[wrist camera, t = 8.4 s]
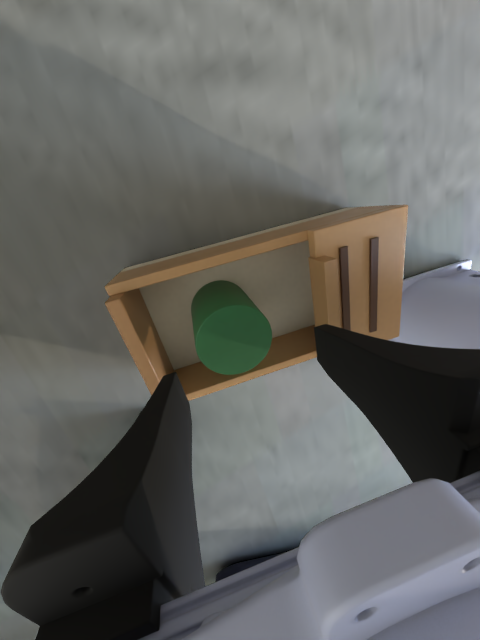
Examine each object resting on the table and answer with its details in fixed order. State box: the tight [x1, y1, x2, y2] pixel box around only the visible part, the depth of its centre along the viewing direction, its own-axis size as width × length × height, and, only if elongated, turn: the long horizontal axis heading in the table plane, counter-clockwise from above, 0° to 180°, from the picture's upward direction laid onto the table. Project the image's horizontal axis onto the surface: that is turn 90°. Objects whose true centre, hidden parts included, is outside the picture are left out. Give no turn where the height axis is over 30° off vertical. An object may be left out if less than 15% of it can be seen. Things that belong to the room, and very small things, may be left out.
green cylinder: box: [191, 280, 272, 375], centre depth 16 cm, size 4×4×6 cm
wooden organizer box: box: [105, 205, 408, 401], centre depth 17 cm, size 18×9×7 cm, turn 103°
